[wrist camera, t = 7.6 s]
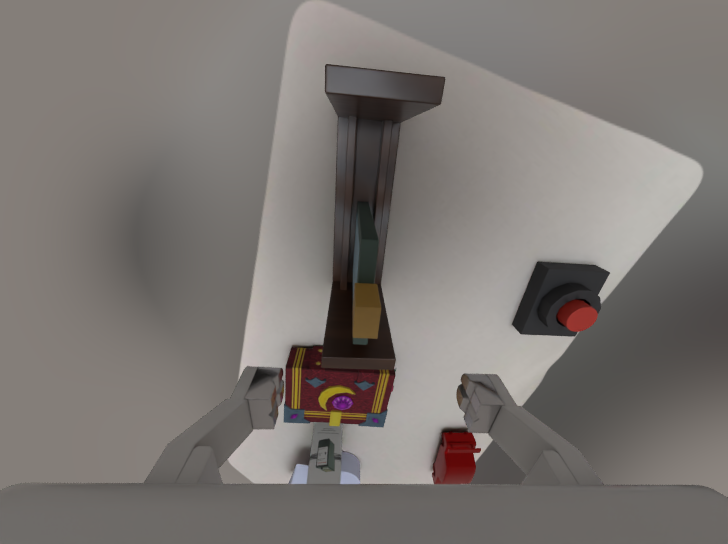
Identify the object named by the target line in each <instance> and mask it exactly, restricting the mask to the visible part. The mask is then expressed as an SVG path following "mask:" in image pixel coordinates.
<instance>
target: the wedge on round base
mask: <svg viewBox="0 0 728 544" xmlns="http://www.w3.org/2000/svg"><path fill="white" fill-rule="evenodd" d="M308 467H309V466H307V465H301V464H296V467H295V469H294V472H293V474H292V476H291V479H290V481H289V483H288V484H306V483H307V475H308ZM340 484H360V462H359V460H358V458H357V457H356V456H355V455H353V454H351V453H348V452H344V451H342V457H341V481H340Z"/></svg>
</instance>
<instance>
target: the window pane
mask: <svg viewBox="0 0 728 544" xmlns="http://www.w3.org/2000/svg"><path fill="white" fill-rule="evenodd" d="M378 246H379V239H378V235H377V231H376V228H375V224H374V220H373V217H372V213H371V209H370V206H369V202H360V201H358V205H357V216H356V231H355V246H354V260H353V336H352V337H353V344H359V345H367V344H368V338H372V339H377V338H378V330H379V322H380V315H381V303H380V297H379V291H378V286H377V284H374V282H375V273H376V264H377V255H378Z"/></svg>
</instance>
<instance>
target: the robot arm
mask: <svg viewBox="0 0 728 544" xmlns="http://www.w3.org/2000/svg"><path fill="white" fill-rule="evenodd" d="M282 376H283V369H282V368H272V367H252V366H247V367H246V368H245V369H244V371H243V373H242V375H241V377H240V379H239V381H238V383H237V385H236V387H235V389H234V391H233V393H232V395H231V398H230V399H226V400H224V401H223V402H222V403H220V404H219V405H218V406H216V407H215V408H214V409H213V410H211V411H210V412H209V413H207V414H206V415H205V416H203V417H202V418H201V419H200V420H198V421H197V422H196V423H195V424H193V425H192V426H191V427H189V428H188V429H187V430H185V431H184V432H183V433H181V434H180V435H179V436H178V437H176V438H175V439H174V440H172V441H171V442H170V443H169V444H168V445H167V446H166V448H165V449H164V451H163V453H162V454H161V456H160V458H159V459H158V461H157V463H156V464H155V466H154V467H153V469H152V470H151V472H150V474H149V475H148V477H147V478H146V480H145V482H144V483H20V484H15V485H11V486H9V487H6V488H4V489H2V490H0V544H728V497H726V496H724V495H723V494H721V493H719V492H717V491H715V490H714V489H711V488H708V487H705V486H699V485H604V484H603V482H602V481H601V480H600V478H599V477H598V476H597V474H596V473H595V471H594V470H593V469H592V467H591V466H590V465H589V463H588V462H587V460H586V459H585V458H584V457H583V455H582V454H581V452H580V451H579V450H578V449H577V448H576V447H574V446H573V445H572V444H570V443H569V442H567V441H566V440H565V439H564V438H562V437H561V436H560V435H558V434H557V433H556V432H554V431H553V430H552V429H550V428H549V427H548V426H546V425H545V424H544V423H542V422H541V421H540V420H538V419H537V418H536V417H534V416H533V415H532V414H530V413H529V412H528V411H526V410H525V409H524V408H522V407H521V406H517V405H516V403H515V402H514V400H513V398H512V397H511V395H510V394H509V392H508V390H507V389H506V387H505V386H504V384H503V382H502V381H501V379H500V378H499V376H498V375H496V374H463V375H462V377H461V382H462V384H461V385H459V386H458V389H457V401H458V405H459V407H460V409H461V410H462V411H463V412H465V415H464V420H465V422H466V425H467V427H468V430H469V432H472V433H489V435H490V437H491V438H492V439H493V440H494V441H495V442H496V443H497V444H498V445H499V446H500V447H501V448H502V449H503V450H504V452H505V453H506V454H508V456H509V457H510V458H511V459H512V460H513V461H514V462H515V463H516V464H517V465H518V467H519V468H520V469H521V470H522V471H523V472H524V473H525V474H526V477H525V479H524V480H523V482H522V483H521V485H501V484H500V485H499V484H498V485H496V484H486V485H484V484H480V485H479V484H475V485H474V484H471V485H470V484H223V483H222V480H221V476H220V473H219V467H221V466H222V464H223V463H224V462H225V461H226V460H227V459H228V458H229V457H230V456H231V454H232V453H233V452H234V451H235V450H236V449H237V448H238V447H239V446H240V444H241V443H242V442H243V441H244V440H245V439H246V438H247V437H248V436H249V434H250V433H251V432H252V431H253V429H274V427H275V424H276V420H277V417H278V406H280V405H281V402H282V399H283V393H284V381H283V380H282Z"/></svg>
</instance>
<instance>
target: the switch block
mask: <svg viewBox="0 0 728 544" xmlns="http://www.w3.org/2000/svg"><path fill="white" fill-rule="evenodd" d="M609 274H610V272H608V271H606V270H604V269H602V268H600V267H598V266H596V265H582V264H566V263H549V262H537V264H536V267H535V269H534V272H533V274H532V277H531V279H530V282H529V284H528V287H527V289H526V292H525V294H524V297H523V299H522V301H521V304H520V306H519V309H518V311H517V314H516V316H515V319H514V321H513V324H512V325H513V326H514V327H515V328H516V329H517V331H518V332H519V333H520V334H528V335H552V336H576V334H577V332H574V331H571V330H569V329H568V328H567V327H565V326H564V325H563V324H562V323H561V322H560V321H559V320H558V319H557V313H558V311H559V309H560V308H561V307H562V306H563V305H564V304H566V303H567V302H569V301H572V300H575V299H578V300H582V301H584V302H585V303H587V304H588V305H590V306H591V307H593V308H594V309H595V310H596V311H597V314H598V313H599V311H600V309H601V303H600V297H599V296H598V294H599V292H600V290H601V288H602V286H603V285H604V283H605V281H606V279H607V277H608V276H609Z"/></svg>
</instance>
